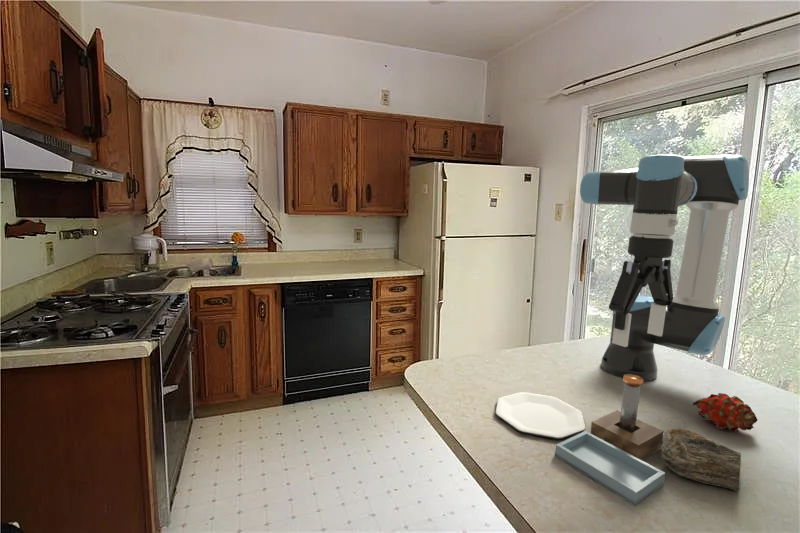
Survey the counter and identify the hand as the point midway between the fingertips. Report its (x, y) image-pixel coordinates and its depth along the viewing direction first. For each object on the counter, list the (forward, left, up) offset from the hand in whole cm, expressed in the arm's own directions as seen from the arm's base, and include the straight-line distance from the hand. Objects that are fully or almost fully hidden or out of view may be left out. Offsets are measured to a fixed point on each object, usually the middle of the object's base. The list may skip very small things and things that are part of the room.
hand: (637, 339), depth 85 cm
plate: (-17, -7, -24) cm, 30 cm away
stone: (+13, +3, -24) cm, 27 cm away
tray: (+3, -12, -23) cm, 26 cm away
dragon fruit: (+8, +27, -24) cm, 37 cm away
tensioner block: (0, 0, -23) cm, 23 cm away
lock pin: (0, 0, -23) cm, 23 cm away
